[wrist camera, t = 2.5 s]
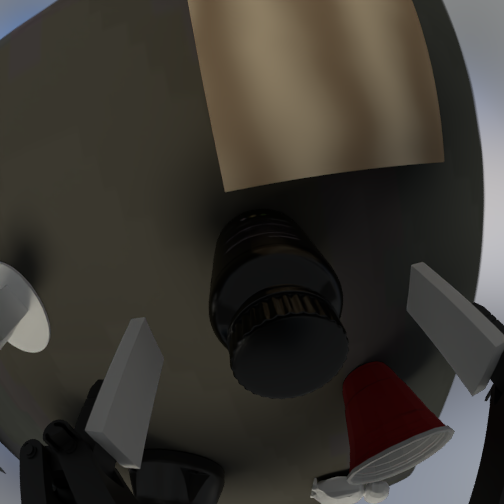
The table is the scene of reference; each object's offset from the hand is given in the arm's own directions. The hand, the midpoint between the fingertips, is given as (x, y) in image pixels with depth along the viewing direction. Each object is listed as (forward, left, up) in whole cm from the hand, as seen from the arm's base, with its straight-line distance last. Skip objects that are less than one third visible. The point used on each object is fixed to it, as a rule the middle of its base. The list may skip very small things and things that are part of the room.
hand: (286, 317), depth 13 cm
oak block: (+6, +13, -9) cm, 17 cm away
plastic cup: (+9, -18, -9) cm, 22 cm away
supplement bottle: (0, 0, -9) cm, 9 cm away
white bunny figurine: (+8, -49, -10) cm, 51 cm away
